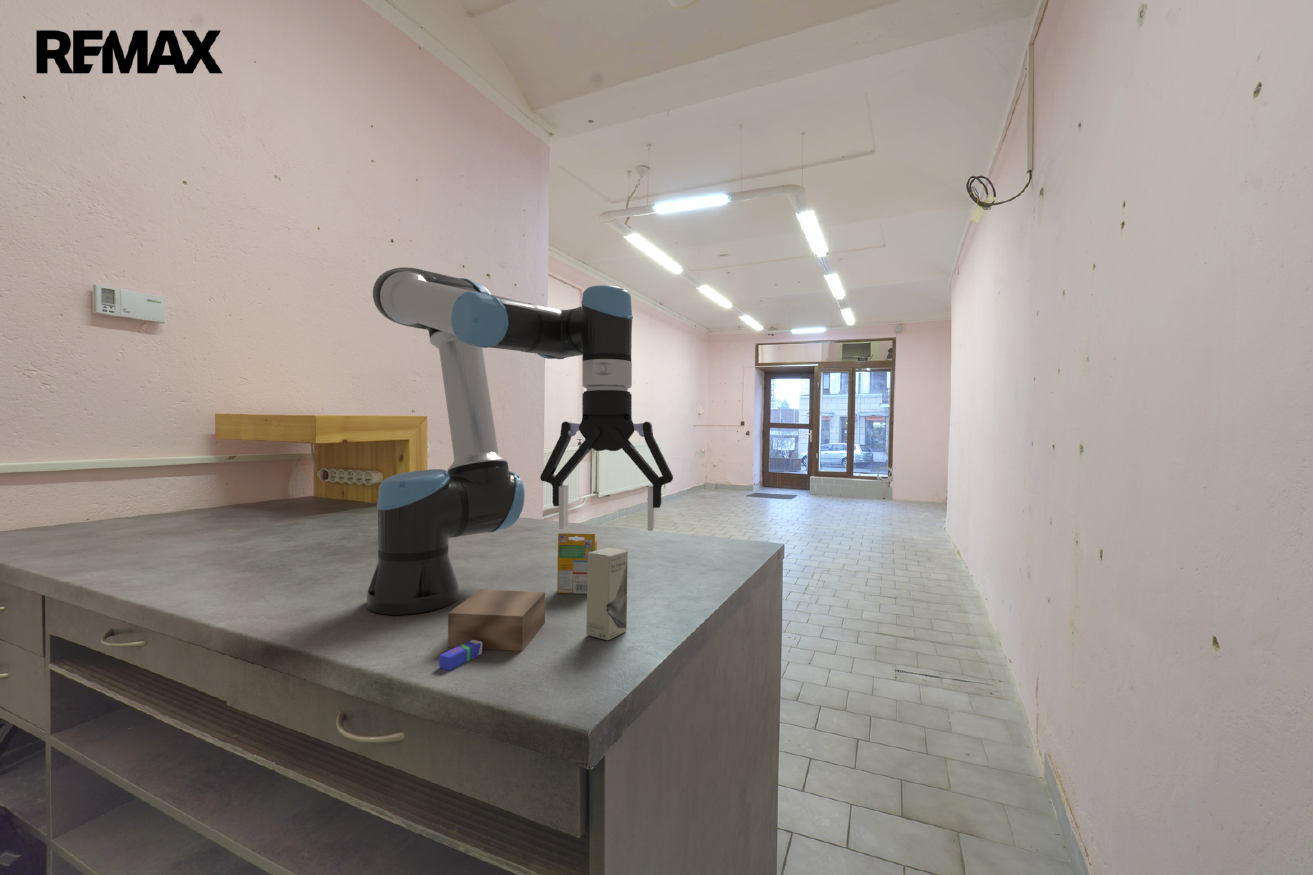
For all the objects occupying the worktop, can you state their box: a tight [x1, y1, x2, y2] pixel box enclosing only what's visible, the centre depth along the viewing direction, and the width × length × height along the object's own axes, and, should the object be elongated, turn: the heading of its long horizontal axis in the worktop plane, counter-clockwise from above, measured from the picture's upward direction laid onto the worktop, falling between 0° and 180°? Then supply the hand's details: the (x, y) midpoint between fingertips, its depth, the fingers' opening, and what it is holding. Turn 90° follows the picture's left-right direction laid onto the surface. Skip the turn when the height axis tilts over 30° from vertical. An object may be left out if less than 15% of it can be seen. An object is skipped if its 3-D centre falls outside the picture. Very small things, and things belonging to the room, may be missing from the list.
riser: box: [447, 589, 546, 652], centre depth 82 cm, size 11×11×5 cm
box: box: [585, 546, 629, 641], centre depth 83 cm, size 5×4×13 cm
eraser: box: [438, 640, 483, 672], centre depth 73 cm, size 2×6×2 cm, turn 154°
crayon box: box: [556, 532, 598, 595], centre depth 103 cm, size 7×3×12 cm, turn 88°
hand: (606, 528), depth 82 cm, fingers open, 13 cm apart
